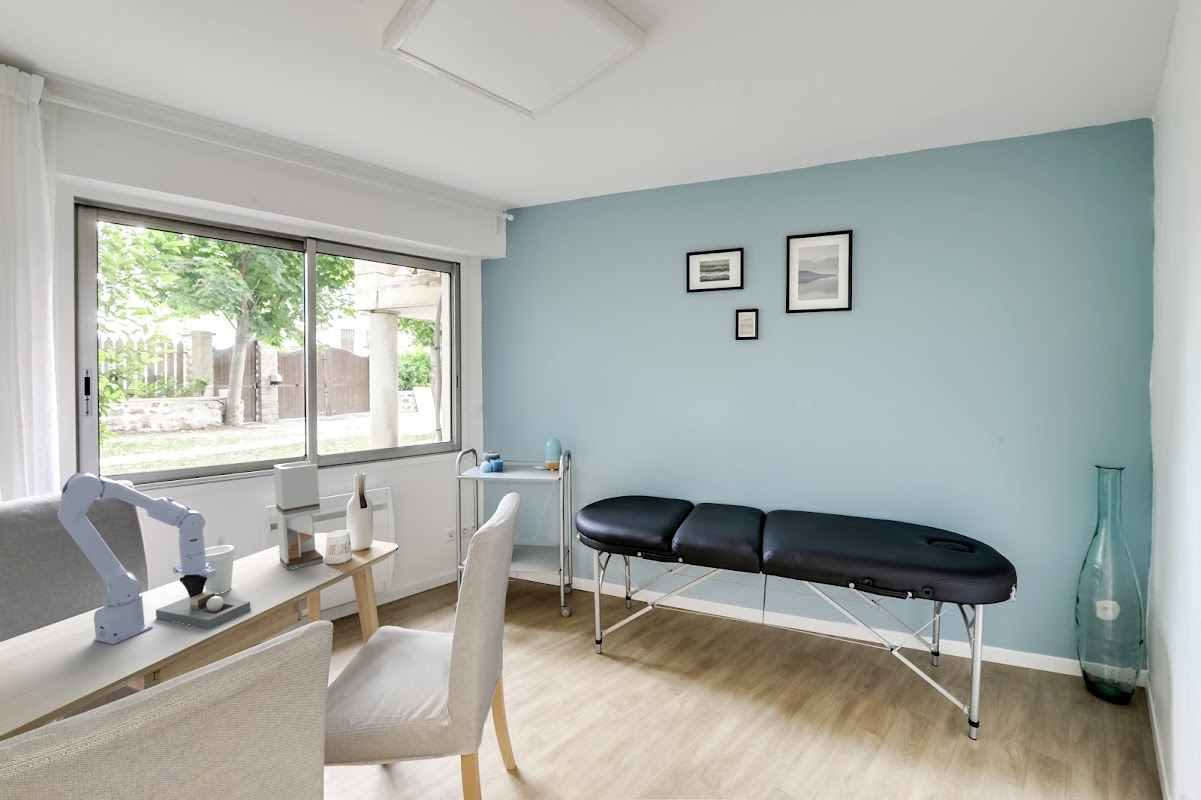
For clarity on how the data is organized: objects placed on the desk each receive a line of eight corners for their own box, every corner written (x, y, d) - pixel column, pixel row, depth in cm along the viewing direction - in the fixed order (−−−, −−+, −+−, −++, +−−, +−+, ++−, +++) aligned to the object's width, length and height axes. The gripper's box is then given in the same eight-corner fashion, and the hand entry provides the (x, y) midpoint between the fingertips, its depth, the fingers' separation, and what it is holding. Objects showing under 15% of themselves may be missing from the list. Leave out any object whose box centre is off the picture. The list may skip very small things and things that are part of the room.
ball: (200, 606, 156) (209, 616, 155) (206, 596, 155) (214, 606, 154) (215, 600, 160) (223, 610, 159) (220, 590, 158) (229, 600, 158)
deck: (208, 629, 149) (208, 620, 149) (156, 618, 157) (155, 609, 156) (250, 610, 161) (250, 601, 160) (199, 600, 168) (199, 592, 168)
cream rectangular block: (198, 610, 155) (197, 599, 155) (190, 608, 157) (189, 598, 156) (216, 602, 160) (215, 592, 160) (208, 601, 161) (207, 591, 161)
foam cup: (244, 585, 179) (241, 545, 178) (221, 597, 170) (218, 555, 169) (216, 584, 180) (213, 545, 179) (193, 596, 171) (189, 555, 170)
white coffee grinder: (287, 570, 191) (280, 469, 188) (280, 562, 199) (273, 465, 196) (323, 561, 199) (317, 464, 196) (314, 554, 207) (309, 460, 204)
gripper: (224, 550, 160) (228, 596, 161) (189, 545, 164) (193, 590, 165) (199, 559, 153) (203, 607, 154) (163, 554, 158) (167, 600, 159)
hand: (196, 599), depth 159 cm, fingers closed
